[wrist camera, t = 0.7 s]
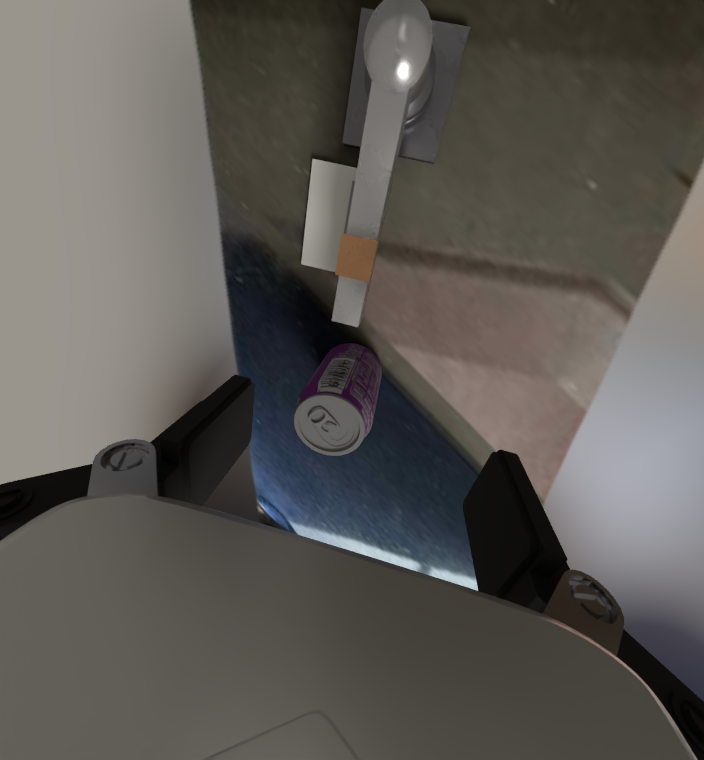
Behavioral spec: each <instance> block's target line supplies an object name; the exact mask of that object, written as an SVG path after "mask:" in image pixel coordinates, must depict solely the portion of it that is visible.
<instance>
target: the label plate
mask: <svg viewBox="0 0 704 760" xmlns="http://www.w3.org/2000/svg"><path fill="white" fill-rule="evenodd" d="M356 173H357V168H354V167H350V166H345V165H340V164H336V163H331V162H326V161H321V160H317V159H312V168H311V178H310V187H309V196H308V205H307V214H306V224H305V233H304V242H303V251H302V261H301V264H303V265H307V266H311V267H315V268H320V269H324V270H328V271H332V272H335V271H336V265H337V259H338V253H339V247H340V240H341V234H342V233H345V234H346V232H347V226H348V220H349V214H350V209H351V203H352V197H353V191H354V185H355V179H356Z"/></svg>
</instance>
